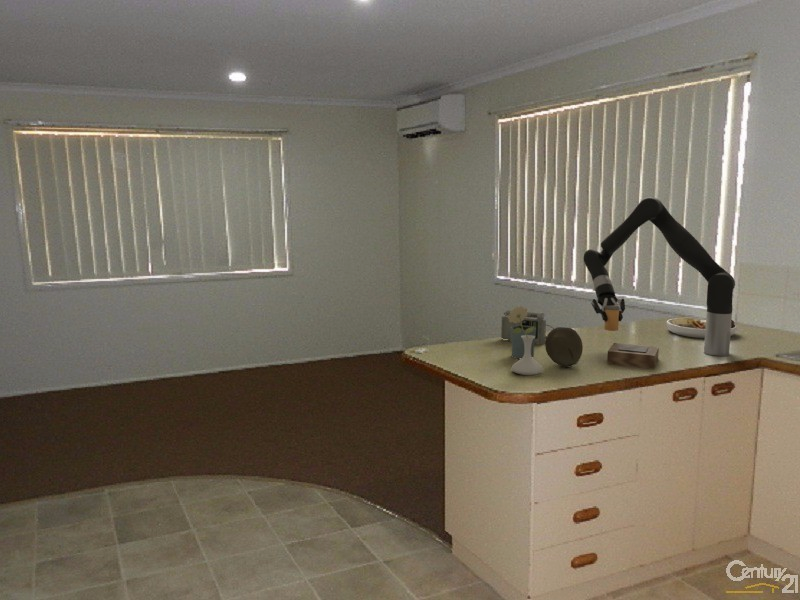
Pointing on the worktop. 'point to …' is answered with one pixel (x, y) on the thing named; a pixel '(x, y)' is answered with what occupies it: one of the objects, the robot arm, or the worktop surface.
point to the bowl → (692, 327)
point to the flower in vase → (526, 362)
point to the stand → (633, 355)
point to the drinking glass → (521, 341)
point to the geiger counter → (536, 322)
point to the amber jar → (612, 317)
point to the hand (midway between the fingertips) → (613, 320)
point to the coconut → (564, 346)
